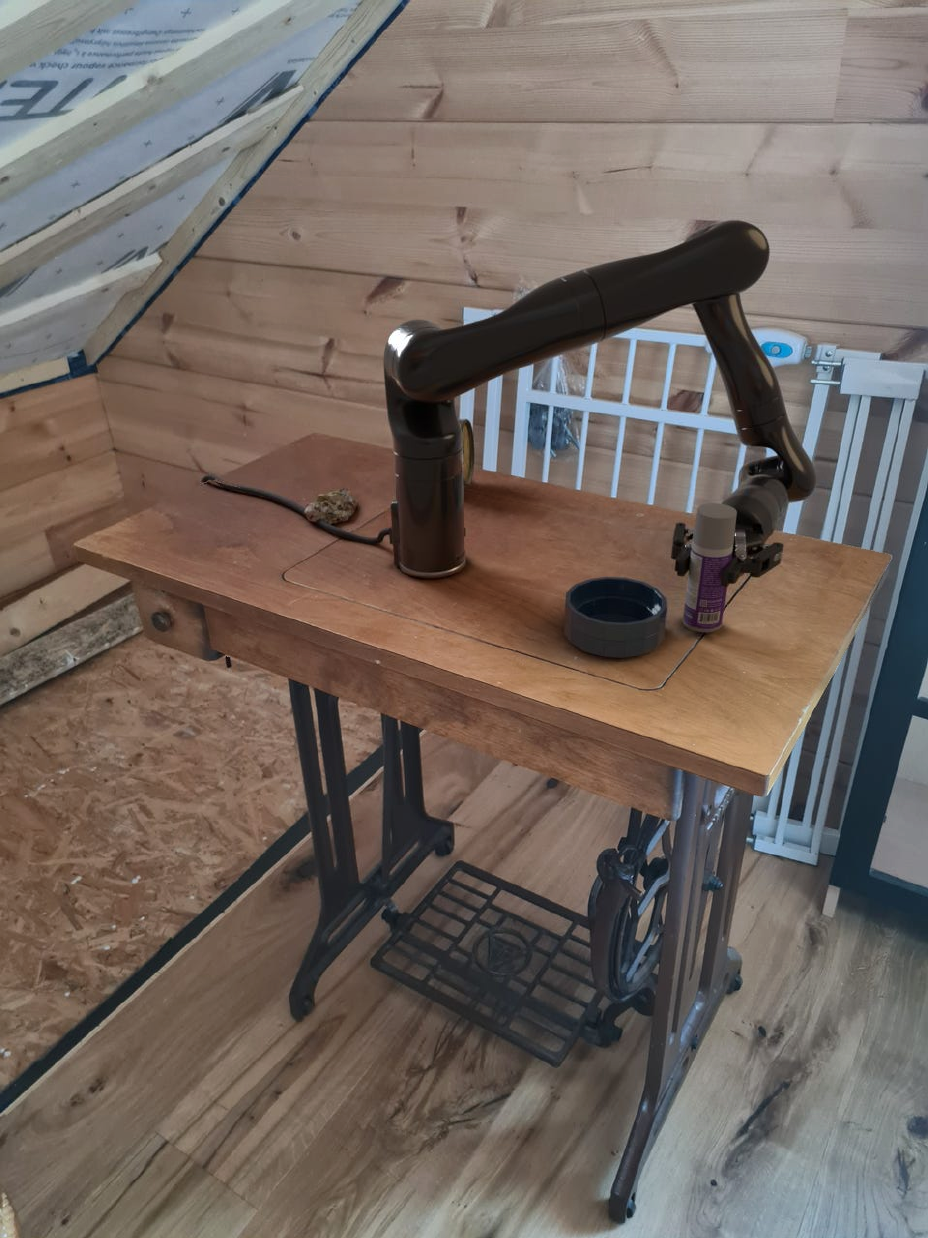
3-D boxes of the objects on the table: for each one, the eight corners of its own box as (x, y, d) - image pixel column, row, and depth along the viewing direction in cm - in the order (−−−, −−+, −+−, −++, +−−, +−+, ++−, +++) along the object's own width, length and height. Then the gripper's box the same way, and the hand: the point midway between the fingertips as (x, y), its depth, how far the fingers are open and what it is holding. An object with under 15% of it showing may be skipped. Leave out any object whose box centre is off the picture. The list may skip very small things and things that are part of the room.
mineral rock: (338, 516, 140) (294, 495, 142) (333, 540, 142) (290, 519, 144) (373, 494, 149) (331, 474, 151) (368, 517, 151) (327, 498, 153)
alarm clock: (463, 502, 150) (461, 405, 142) (431, 500, 151) (427, 403, 143) (476, 478, 159) (475, 385, 151) (446, 476, 160) (443, 384, 152)
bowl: (547, 645, 111) (548, 609, 108) (588, 603, 120) (590, 569, 117) (641, 671, 105) (645, 634, 103) (677, 625, 114) (680, 590, 112)
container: (726, 619, 114) (743, 507, 106) (714, 636, 110) (730, 521, 103) (690, 609, 116) (704, 499, 108) (677, 626, 113) (690, 513, 105)
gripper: (693, 484, 121) (647, 532, 108) (805, 505, 115) (769, 558, 102) (687, 536, 125) (641, 588, 112) (795, 559, 118) (759, 616, 106)
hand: (702, 573), depth 107 cm, fingers closed on container, 4 cm apart
